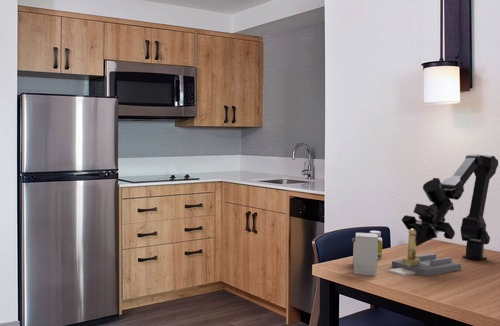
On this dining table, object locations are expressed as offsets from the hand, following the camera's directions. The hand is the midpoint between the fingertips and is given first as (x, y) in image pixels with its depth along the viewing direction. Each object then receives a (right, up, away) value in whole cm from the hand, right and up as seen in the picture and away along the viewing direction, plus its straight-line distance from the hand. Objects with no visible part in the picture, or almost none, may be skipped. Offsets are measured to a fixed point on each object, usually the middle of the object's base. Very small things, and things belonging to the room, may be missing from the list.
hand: (415, 245), depth 184 cm
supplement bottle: (-10, -8, +18) cm, 22 cm away
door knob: (-1, -6, 0) cm, 7 cm away
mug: (-16, -8, +7) cm, 19 cm away
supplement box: (-18, -9, -4) cm, 20 cm away
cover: (-5, -9, -3) cm, 11 cm away
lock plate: (+5, -9, +4) cm, 11 cm away
